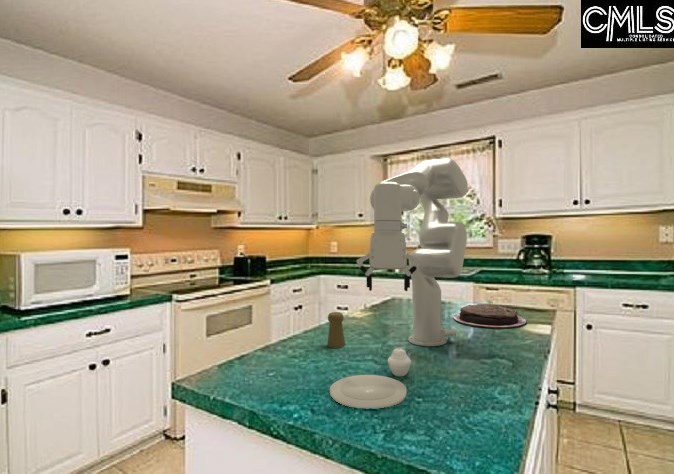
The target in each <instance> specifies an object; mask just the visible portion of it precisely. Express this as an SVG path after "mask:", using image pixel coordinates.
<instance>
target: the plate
mask: <svg viewBox="0 0 674 474" xmlns="http://www.w3.org/2000/svg"><path fill="white" fill-rule="evenodd" d="M329 396H330V398H331V397H332V398H333V399H334V400H335V401H336V402H338V403H340V404H342V405H341V406H343V405H345V406H349V407H356V408H366V409H369V408H384V407H389V408H391V407H390V406H392V407H395V406H398V405H400V404H401V403H403V402H404V401H405V400H406V398H407V387H406V386H405V384H404V383H402V382H401V381H399V380H398V379H394V378H392V377H388V376H385V375H377V374H360V375H359V374H358V375H352V376H351V375H350V376H346V377H343V378H341V379H338V380H336V381H334V382H333V383H332V384H331V385H330V388H329ZM332 398H331V399H332ZM333 399H332V400H333ZM334 400H333V401H334ZM335 401H334V402H335ZM336 402H335V403H336ZM338 403H337V404H338ZM340 404H339V405H340ZM397 404H398V405H397ZM394 405H395V406H394ZM345 406H344V407H345ZM349 407H348V408H349Z"/></svg>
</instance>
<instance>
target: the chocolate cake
mask: <svg viewBox="0 0 674 474" xmlns="http://www.w3.org/2000/svg"><path fill="white" fill-rule="evenodd" d="M453 320H454V321H455V322H456V323H459V324H463V325H464V326H466V327H467V326H468V327H475V328H483V329H495V330H503V329H505V330H506V329H511V328H514V329H516V328H517V329H518V328H520V327H521V326H524V325H525V324H527V320H526V319H525V318H524V317H522V316H519V315H518V313H517V309H516V310H515V309H513V308H509V307H508V308H506V307H504V306H501V305H497V304H489V303H488V304H483V303H481V304H480V303H479V304H468V305H466V306H463V307H461V308H460V309H459V313H456V314H454V315H453Z"/></svg>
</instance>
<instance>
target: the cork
mask: <svg viewBox="0 0 674 474" xmlns="http://www.w3.org/2000/svg"><path fill="white" fill-rule="evenodd" d="M327 321H328V322H329V325H328V326H329V328H328V334H327V335H328V336H327V343H326V344H327V345H326V346H327V347H328V348H331V349H339V348H344V347H345V346H346V340H345V334H344V329H343V321H344V314H343V313H342V312H340V311H332V312H330V313H329V314H328V316H327Z"/></svg>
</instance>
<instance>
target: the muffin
mask: <svg viewBox="0 0 674 474" xmlns="http://www.w3.org/2000/svg"><path fill="white" fill-rule="evenodd" d="M387 364H388V366H389V369H390V371H391V373H392V374H393V376H395V377H405V376H406V375H407V373H408V372H409V369H410V368H411V367H410V366H411V364H412V360H411V358H410V357H409V356H408V355H407V353H406V350H405V349H404V348H395V349H393V350H392V353H391V355H390V356H389V357H388V358H387Z"/></svg>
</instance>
